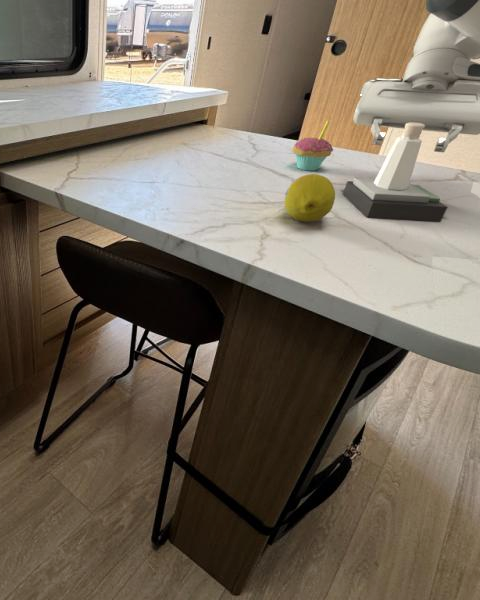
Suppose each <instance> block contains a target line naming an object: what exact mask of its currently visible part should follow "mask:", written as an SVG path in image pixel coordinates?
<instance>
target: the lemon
mask: <svg viewBox="0 0 480 600" xmlns="http://www.w3.org/2000/svg"><path fill="white" fill-rule="evenodd" d="M335 200H336V190H335V187H334V184H333V183H332V181H331V180H330V179H329V178H328V177H325V176H324V175H321V174H317V173H309V174H305V175H301V176H299V177H298V178H296V180H294V181H293V182H292V183H291V184H290V185H289V186H288V188H287V189H286V191H285V193H284V209H285V211H286V212H287V214H288V216H289V217H291V218H293V219H294V220H297V221H299V222H304V223H305V222H306V223H307V222H316V221H319V220H321V219H322V218H324V217H326V216H327V215H328V214H329V213H330V212H331V210H332V209H333V206H334V204H335Z"/></svg>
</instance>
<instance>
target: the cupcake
mask: <svg viewBox="0 0 480 600" xmlns="http://www.w3.org/2000/svg"><path fill="white" fill-rule="evenodd" d="M331 118H332V117H331V116H330V117H329V118H328V119H327V120H326V122H325V124H324V126H323V128H322V131H321V133H320V135H319V137H304V138H301V139H300V140H298V141H296V142H295V144H294V146H293V148H292V149H291V151H292V153H294V154H295V158H296V168H298V170H302V171H308V172H309V171H311V172H313V171H317V170H319V168H320V167H321V165H322V164H323V162H324V161H325V160H326V158H328V157H330V156H331V155H332V152H333V151H334V148H333V146H332V144H331V143H330V142H329V141H328V140H325V139H324V138H323V137H324V135H325V133H326V130H327V129H328V127H329V124H330V123H331Z"/></svg>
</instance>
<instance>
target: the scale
mask: <svg viewBox="0 0 480 600" xmlns="http://www.w3.org/2000/svg"><path fill="white" fill-rule="evenodd" d="M353 178H354V179H353V180H347V181H346V184H345V187H344V189H343V192H342V195H343V196H344V197H345V198H346V199H347V200H348V201H349V202H350V203H351V204H352V205H353V206H354V207H355V208H356V209H358V211H360V212H361V213H362V214H363V215H364V216H365V217H366V218H369V219H386V220H387V219H388V220H389V219H390V220H401V221H402V220H403V221H421V222H422V221H423V222H439V223H440V222H442V219H443V218H444V215H445V214H446V212H447V210H448V206H447V205H446V204H444V203H442V202H441V198H440V197H439V196H437V195H435V194H434V193H432V192H431V191H429V190H427V189H426V188H424V187H422V186H421V185H419V184H413V183H410V182H409V185H408V188H407V189H405V190H401V191H398V190H387V189H384V188H380V187H377V186H376V185H375V184H374V181H375V179H376V177H353Z"/></svg>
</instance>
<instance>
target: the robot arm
mask: <svg viewBox="0 0 480 600" xmlns="http://www.w3.org/2000/svg"><path fill="white" fill-rule="evenodd" d="M425 9H426V12H428V13H429V15H428V16H427V18H426V19H425V21H424V23H423V24H422V26H421V29H420V32H419V33H418V36H417V38H416V41H415V44H414V46H413V53H412V54H413V56H412V57H411V59H410V60H409V61H408V63H407V66H406V68H405V71H404V74H403V77H402V78H382V77H376V78H374V79H372V80H371V79H370V80H368V81H366V82H365V83H364V84H363V85H362V86H361V89H360V93H359V95H360V99H359V101H358V103H357V105H356V107H355V111H354V113H353V116H352V120H353V122H354V123H355V125H357V126H368V127H369V126H370V127H371V128H370V132H371V134H372V137H373V141H372V143H371V146H379V147H380V146H382V144H383V141H384V138H385V136H386V132H382V131H381V127H382V128H390V129H391V128H393V129H403V130H404V129H405V124H406V123H411V122H412V123H421V124H424V125H425V127H424V128H423V130H422V131H426V132H438V133H447V135H446V137H439V138H438V139H437V141H436V143H435V147H434V150H433V152H434V153H435V152H436V153H445V151H446V150H447V148H448V146H449V144H450V143H452V142H454V140H455V139H457V138H458V137H459V135H460V134H462V135H472V136H478V135H480V63H479V62H475V61H472V60H478V59H480V0H425Z"/></svg>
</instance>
